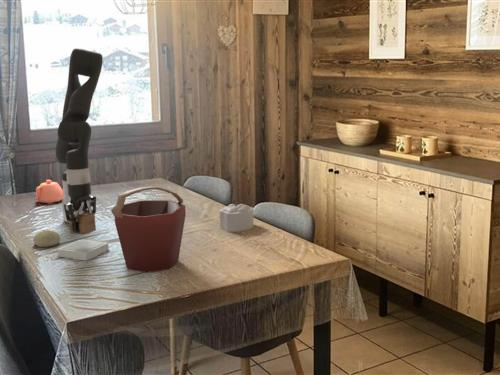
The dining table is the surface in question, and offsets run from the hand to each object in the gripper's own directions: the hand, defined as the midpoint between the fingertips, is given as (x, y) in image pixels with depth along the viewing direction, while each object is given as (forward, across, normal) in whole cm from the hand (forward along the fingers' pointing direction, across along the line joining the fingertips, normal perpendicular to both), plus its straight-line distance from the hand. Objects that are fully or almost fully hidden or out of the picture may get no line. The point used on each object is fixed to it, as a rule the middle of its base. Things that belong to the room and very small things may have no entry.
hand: (82, 229), depth 207 cm
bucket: (+9, 0, +27) cm, 28 cm away
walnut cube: (+1, 0, 0) cm, 1 cm away
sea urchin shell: (+8, -3, -19) cm, 21 cm away
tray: (+8, 0, 0) cm, 8 cm away
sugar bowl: (+8, -54, -64) cm, 84 cm away
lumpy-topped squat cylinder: (+9, -48, +36) cm, 60 cm away
